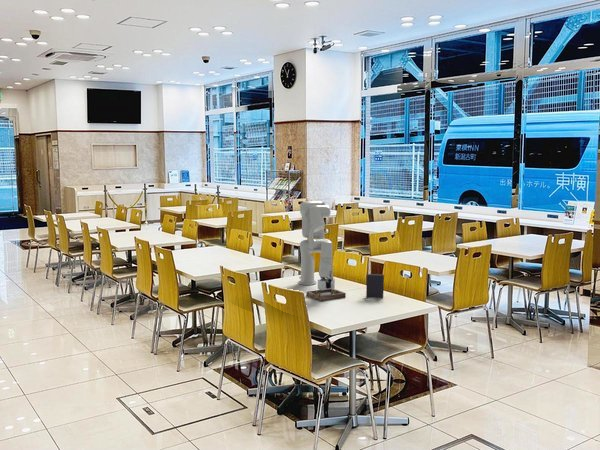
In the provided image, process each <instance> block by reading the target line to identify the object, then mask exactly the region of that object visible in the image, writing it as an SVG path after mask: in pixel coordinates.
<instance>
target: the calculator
mask: <svg viewBox="0 0 600 450" xmlns="http://www.w3.org/2000/svg"><path fill="white" fill-rule="evenodd" d="M384 282H385V275H384V274H380V273H379V274H378V273H367V274H366V286H365V287H366V291H365V292H366V294H365V296H366V298H373V299H375V298H377V299H379V298H380V299H383V298H384V287H385V286H384V285H385V283H384Z"/></svg>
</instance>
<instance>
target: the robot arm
mask: <svg viewBox="0 0 600 450" xmlns="http://www.w3.org/2000/svg"><path fill="white" fill-rule="evenodd" d="M299 212H300V216H301V234H302V237H303V238H305V239H304V240H302V241H300V242H299V248H300V249H299V251H300V276H299V279H300V280H299V281H298V284H299V285H302V286H311V285H312V286H314V285H316V284H317V281H316V280H315V257H314V256H313V255H312V254H316V253H320V261H319V264H318V267H319V268H318V275H319V278H320V279H327V286H326V288H327V289H328V288H331V282H332V280H333V279H334V269H333V267H334V266H333V242H332V241H331V240H330V239H328V238H325V227H326V223H325V220H324V218H329V217H330V216H331V213H332V212H331V208H330V206H329V205H328V203H326V202H324V201H322V200H316V201H315V200H311V201H309V200H308V201H307V200H306V201H303V202H300V205H299ZM328 278H329V280H328Z"/></svg>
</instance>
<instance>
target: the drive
mask: <svg viewBox="0 0 600 450" xmlns="http://www.w3.org/2000/svg"><path fill="white" fill-rule="evenodd" d="M328 280H329V278H328ZM335 281H336V280H335V279H334V278H333V280H332V282H331V288H328V289H335V283H336V282H335ZM326 286H327V278H325V279H321V278H320V279H317V290H328V289H327V288H326Z"/></svg>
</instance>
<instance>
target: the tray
mask: <svg viewBox="0 0 600 450" xmlns="http://www.w3.org/2000/svg"><path fill="white" fill-rule="evenodd" d="M305 295H306V298H307V297H308V298H310V299H313V300H316V301H318V302H324V301H325V302H326V301H330V300H338V299H345V298H346V296H347V294H346V292H344V291H341V290H339V289H335V288H334V289H328V290H319V289H315V290H310V291H309V290H308V291H306V294H305Z"/></svg>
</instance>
